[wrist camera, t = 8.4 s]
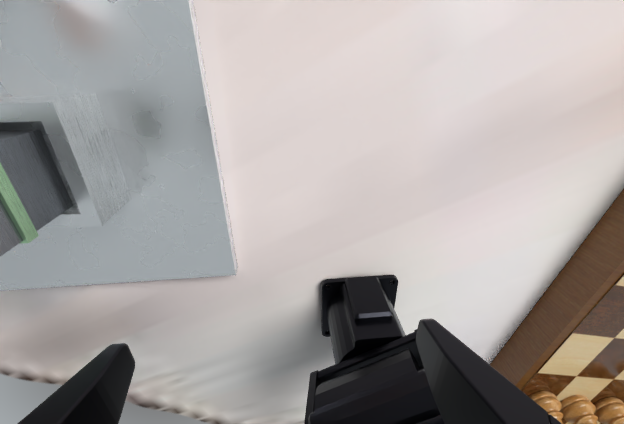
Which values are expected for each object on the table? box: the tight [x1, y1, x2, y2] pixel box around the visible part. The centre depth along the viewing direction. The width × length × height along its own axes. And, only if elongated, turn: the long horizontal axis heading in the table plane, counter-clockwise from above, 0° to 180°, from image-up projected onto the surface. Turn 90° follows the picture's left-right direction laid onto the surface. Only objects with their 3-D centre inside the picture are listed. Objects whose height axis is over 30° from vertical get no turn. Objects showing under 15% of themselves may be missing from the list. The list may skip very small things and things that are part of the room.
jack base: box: [0, 0, 238, 291], centre depth 14 cm, size 20×18×9 cm
